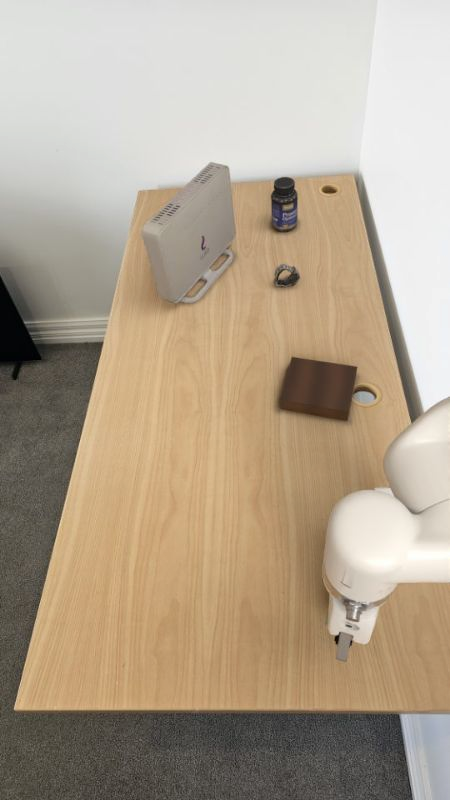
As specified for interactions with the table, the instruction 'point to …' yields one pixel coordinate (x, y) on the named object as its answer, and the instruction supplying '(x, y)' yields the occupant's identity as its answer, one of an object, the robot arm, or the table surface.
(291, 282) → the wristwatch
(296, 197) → the pill bottle
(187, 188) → the network device
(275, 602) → the table surface
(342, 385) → the walnut block
